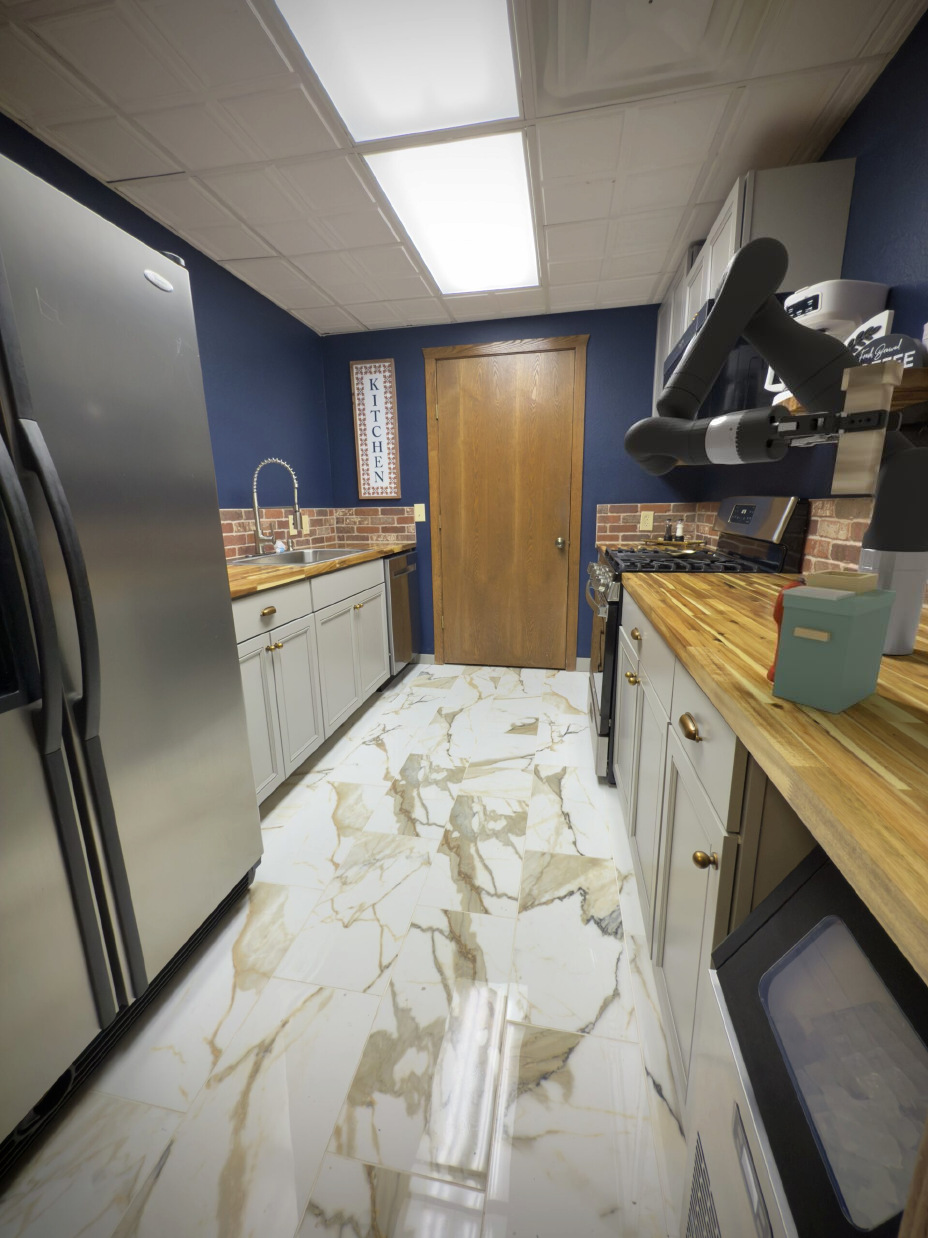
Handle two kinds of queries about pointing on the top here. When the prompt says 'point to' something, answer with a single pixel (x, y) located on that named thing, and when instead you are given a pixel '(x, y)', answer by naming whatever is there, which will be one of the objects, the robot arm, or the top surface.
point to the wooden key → (864, 449)
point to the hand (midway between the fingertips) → (892, 420)
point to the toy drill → (778, 619)
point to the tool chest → (832, 640)
